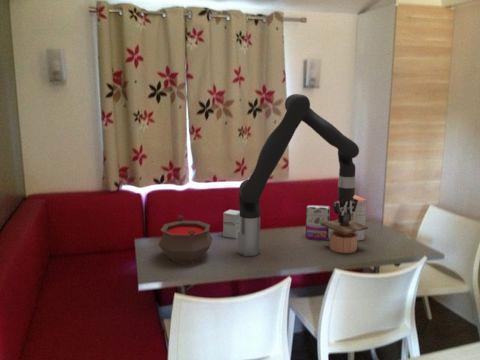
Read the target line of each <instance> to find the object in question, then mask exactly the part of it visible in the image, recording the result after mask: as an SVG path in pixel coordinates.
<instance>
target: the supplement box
mask: <svg viewBox="0 0 480 360" xmlns="http://www.w3.org/2000/svg"><path fill="white" fill-rule="evenodd" d="M222 214H223V215H222V216H223V222H222V223H223V225H222V226H223V227H222V231H223V232H222V236H223V237H225V238H232V239H238V232H239V231H240V211H239V210H235V209H228V210H225V211H224V212H223V213H222Z"/></svg>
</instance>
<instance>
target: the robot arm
mask: <svg viewBox="0 0 480 360" xmlns="http://www.w3.org/2000/svg"><path fill="white" fill-rule="evenodd" d="M284 107H285V111H286V112H285V114H284V115H283V118H282V120H281V121H280V123H279V124H278V125H277V126H276V127H275V128H274V129H273V130H272V132H271V133H270V134H269V136H268V137H267V138H266V140H265V142H264V144H263V146H262V148H261V150H260V152H259V155H258V158H257V161H256V165H255V168H254V170H253V171H252V174H251V175H250V176H249V178H248V179H245V180H243V181H242V182H241V183H240V184H239V189H238V203H239V204H238V208H239V209H238V211H240V231H239V232H238V237H237V253H239V254H240V255H242V256H243V257H252V256H253V257H254V256H257V255H259V254H260V252H261V250H260V249H261V205H260V204H261V203H260V199H261V197H262V195H263V193H264V190H265V188H266V185H267V183H268V180H269V179H270V177H271V175H272V173H273V172H274V170H276V167H277V165H278V164H279V162H280V161H281V159H282V158H283V155H284V154H285V151H286V150H287V148H288V146H289V144H290V142H291V140H292V138H293V136H294V134H295V132H296V131H297V129H298V127H299V126H300V124H301V122H303V123H304V124H306V125H307V126H308V127H309V128H311V129H312V130H313V131H314V132H316V134H317V135H318V136H320V137H321V138H322V139H323V140H324V141H325V142H327V143H328V145H330V146H331V147H334V148H336V149H337V157H338V159H337V160H338V164H339V170H338V171H339V172H338V181H337V182H338V183H337V196H338V198H337V201H333V202H332V206H333V210H334V214H336V215H338V218H337V220H338V221H339V223H343V216H344V215H343V214H344V211H345V210H346V211H347V213H349V222H350V220H351V214H352V212H355V209H356V206H357V203H358V200H357V199H354V198H353V197H354V195H356V193H355V191H356V165H355V163H354V162H353V159H354V158H356V157H358V155H359V153H360V148H359V146H358V144H356V142H354V141H353V140H352V139H350V138H349V137H347V136H346V135H344V134H343V133H342V132H341V131H340V130H339V129H338V128H337V127H335V126H334V125H333V124H332V123H331V122H329V121H328V120H326V119H325V118H324V117H321V116H320V115H319V114H317V113H316V112H315V111H314V110H313V109H312V108H311V101H310V99H309V97H308V96H307V95H304V94H300V93H299V94H298V93H293V94H291V95H289V96H288V97H286V99H285V101H284ZM353 206H354V207H353ZM352 208H353V209H352ZM341 210H342V211H341Z"/></svg>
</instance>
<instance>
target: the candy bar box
mask: <svg viewBox="0 0 480 360" xmlns="http://www.w3.org/2000/svg"><path fill="white" fill-rule="evenodd" d="M305 210H306V211H305V213H306V215H305V220H306V221H305V239H309V240H310V239H311V240H318V241H328V240H329V239H330V228H327V227H325V226H322V225H321V223H324V222H329V221H330V213H331V212H330V211H331V206H329V205H314V204H308V205H307V206H306V209H305Z"/></svg>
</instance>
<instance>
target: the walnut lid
mask: <svg viewBox="0 0 480 360" xmlns="http://www.w3.org/2000/svg"><path fill="white" fill-rule="evenodd" d="M343 215H344V216H343V223H339V221H338V219H334V220H329V222H324V223H321V225H322V226H325V227H327V228H329V230H331V231H334V230H335V231H337V232H339V233H342V234H347V233H352V232H356V231H361V230H365V231H366V230H369V226H368V225H367V226H366V225H365V226H364V225H362V224H359V223H356V222H353V221H350V222H349V213H347V212H344V214H343Z"/></svg>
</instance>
